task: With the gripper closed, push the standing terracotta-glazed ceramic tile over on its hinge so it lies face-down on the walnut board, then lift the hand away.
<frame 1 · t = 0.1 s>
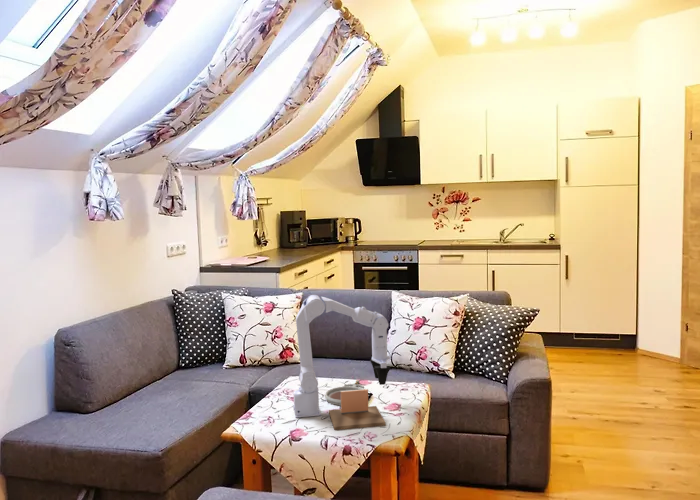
hand: (380, 381, 231), 10 cm above the table, tool pointing down, fingers open, 7 cm apart
board: (356, 419, 221), on the table
tile: (354, 401, 223), point 6 cm above the table, hinge at 95.0°
frying pan: (349, 395, 248), on the table
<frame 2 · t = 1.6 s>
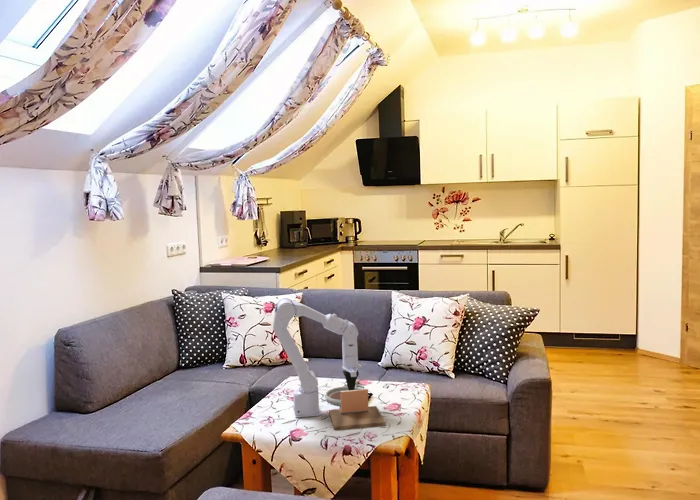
hand: (351, 389, 230), 8 cm above the table, tool pointing down, fingers closed
nothing on the table moved.
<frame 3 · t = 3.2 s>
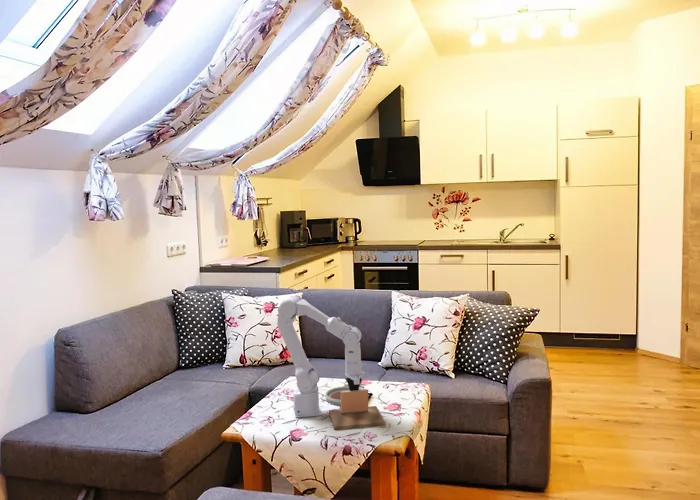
hand: (354, 397, 223), 7 cm above the table, tool pointing down, fingers closed
tile: (354, 401, 223), point 6 cm above the table, hinge at 97.1°, touching gripper
everything else where it was.
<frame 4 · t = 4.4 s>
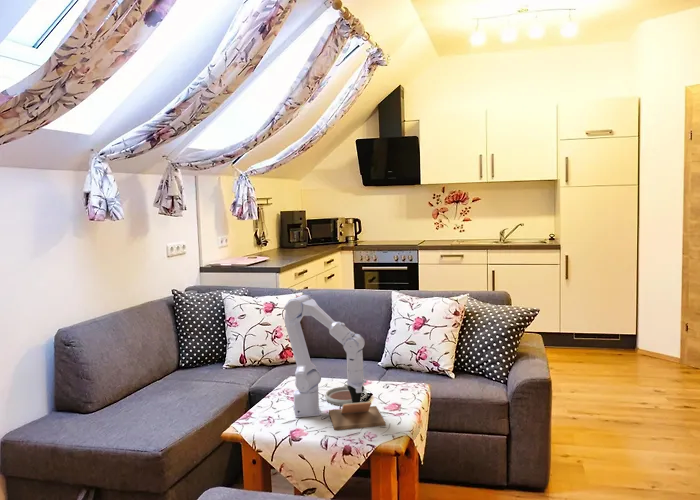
hand: (356, 405, 220), 5 cm above the table, tool pointing down, fingers closed, pressing on tile
tile: (355, 407, 220), point 4 cm above the table, hinge at 140.0°, touching gripper
everything else where it was.
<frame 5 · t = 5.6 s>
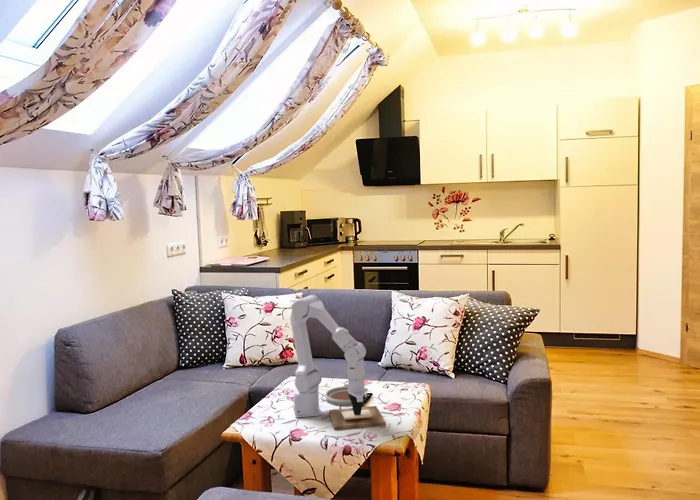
hand: (357, 414, 218), 3 cm above the table, tool pointing down, fingers closed, pressing on tile
tile: (356, 414, 220), point 2 cm above the table, hinge at 173.4°, touching gripper
everything else where it was.
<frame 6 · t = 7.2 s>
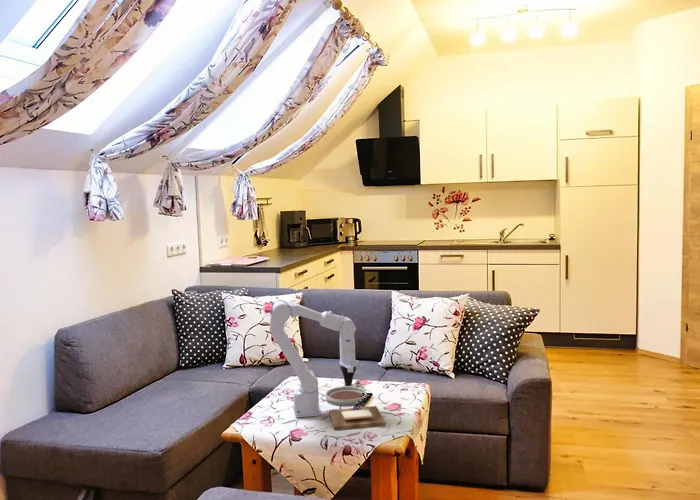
hand: (348, 385, 230), 9 cm above the table, tool pointing down, fingers closed
tile: (356, 414, 220), point 2 cm above the table, hinge at 173.9°
everything else where it was.
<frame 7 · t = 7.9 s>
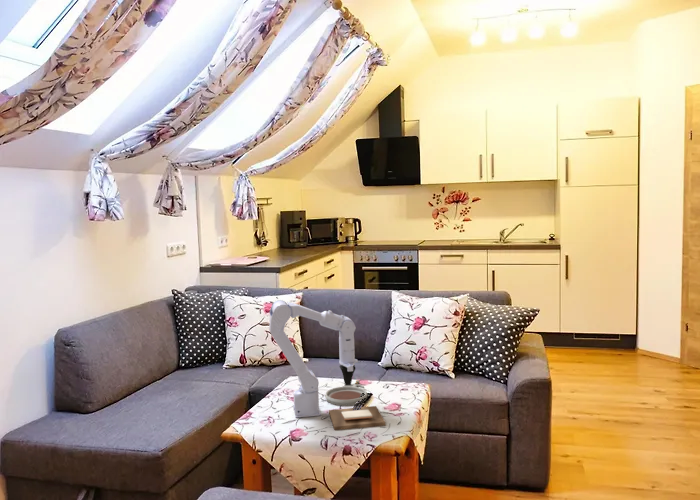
hand: (347, 384, 230), 9 cm above the table, tool pointing down, fingers closed
nothing on the table moved.
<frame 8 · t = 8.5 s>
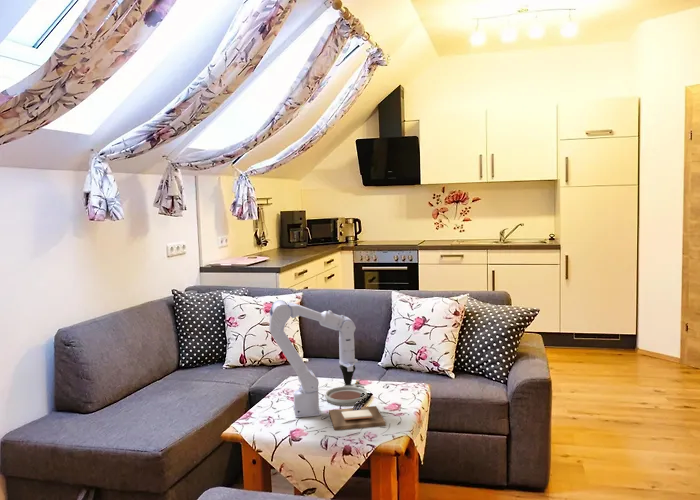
hand: (347, 384, 230), 9 cm above the table, tool pointing down, fingers closed
nothing on the table moved.
at the end: tile at +174° (first picture: +95°); frying pan moved 0.7 cm from its start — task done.
